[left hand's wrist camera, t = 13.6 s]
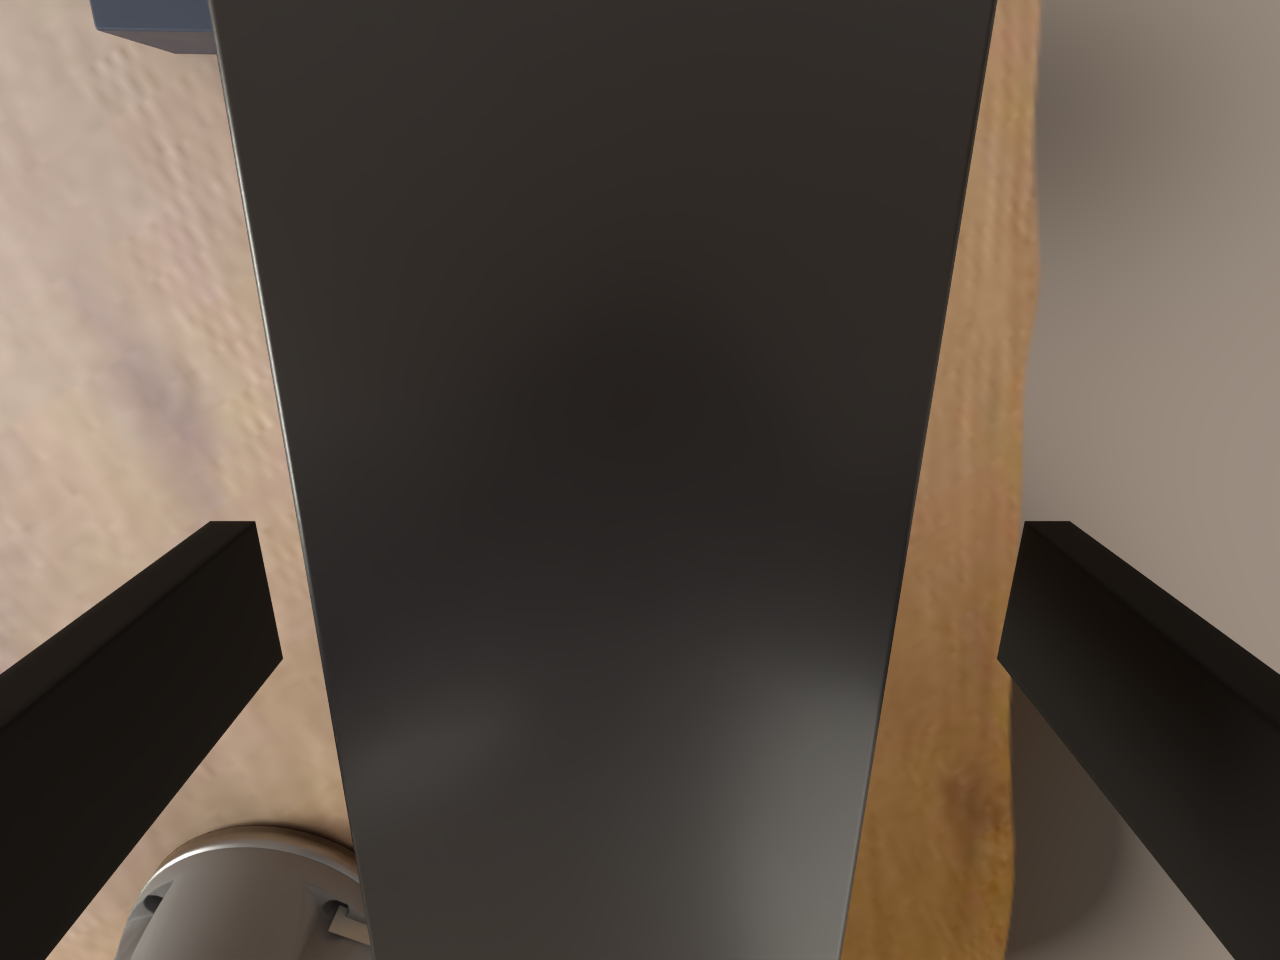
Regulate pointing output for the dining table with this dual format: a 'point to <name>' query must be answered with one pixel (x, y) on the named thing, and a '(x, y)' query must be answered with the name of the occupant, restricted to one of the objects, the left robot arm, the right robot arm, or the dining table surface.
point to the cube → (158, 23)
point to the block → (604, 438)
